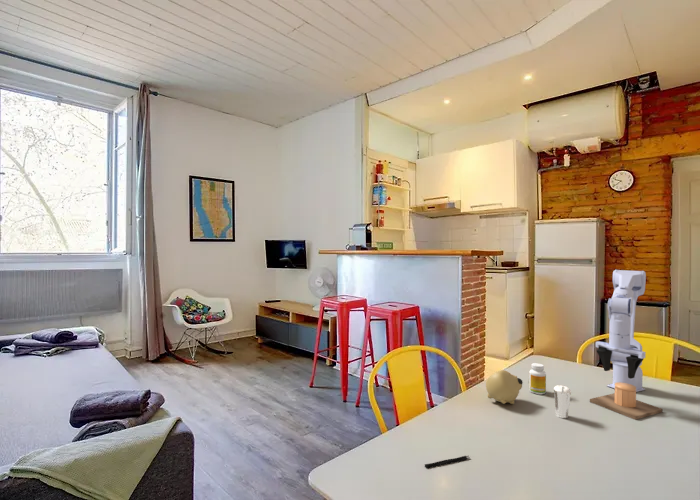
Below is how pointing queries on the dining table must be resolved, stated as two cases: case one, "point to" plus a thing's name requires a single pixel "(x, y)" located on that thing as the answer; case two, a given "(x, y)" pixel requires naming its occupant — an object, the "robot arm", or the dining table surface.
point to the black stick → (447, 461)
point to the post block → (634, 413)
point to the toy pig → (503, 386)
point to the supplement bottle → (537, 379)
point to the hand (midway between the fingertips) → (618, 374)
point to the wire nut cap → (625, 394)
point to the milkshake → (562, 400)
